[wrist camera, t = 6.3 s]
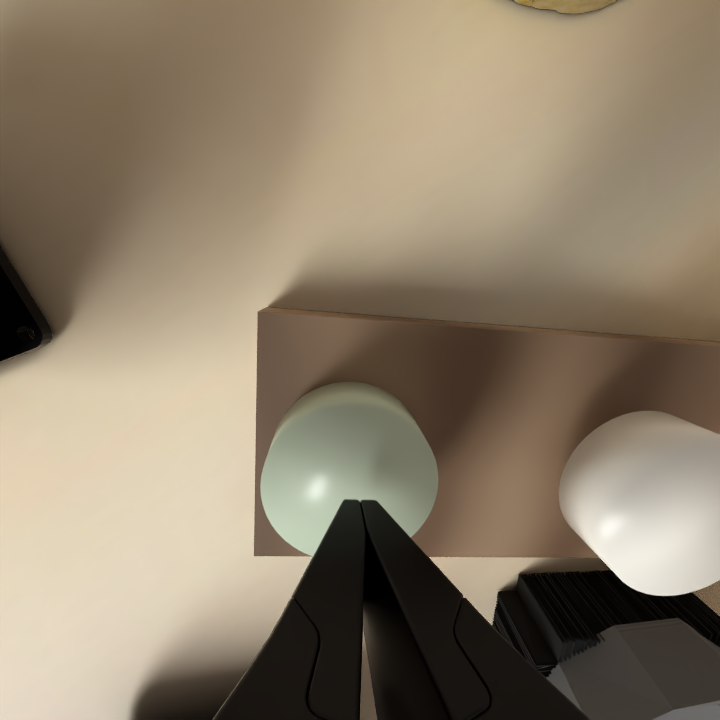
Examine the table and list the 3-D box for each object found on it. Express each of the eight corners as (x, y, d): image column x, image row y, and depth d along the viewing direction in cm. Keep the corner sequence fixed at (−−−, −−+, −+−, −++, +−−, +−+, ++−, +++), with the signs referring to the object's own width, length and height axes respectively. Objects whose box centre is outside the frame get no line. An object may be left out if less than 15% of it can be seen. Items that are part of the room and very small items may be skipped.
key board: (262, 526, 14) (254, 556, 13) (266, 307, 12) (257, 311, 11) (788, 533, 17) (832, 558, 15) (868, 353, 15) (928, 362, 13)
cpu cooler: (869, 692, 11) (768, 880, 14) (690, 554, 17) (642, 705, 19) (572, 717, 10) (521, 914, 13) (487, 562, 16) (463, 720, 18)
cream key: (544, 543, 12) (586, 596, 10) (578, 406, 11) (634, 436, 9) (675, 544, 12) (740, 595, 10) (722, 414, 11) (805, 444, 9)
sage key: (270, 514, 12) (258, 561, 10) (274, 377, 11) (261, 399, 9) (411, 517, 12) (426, 562, 10) (429, 385, 11) (450, 409, 9)
